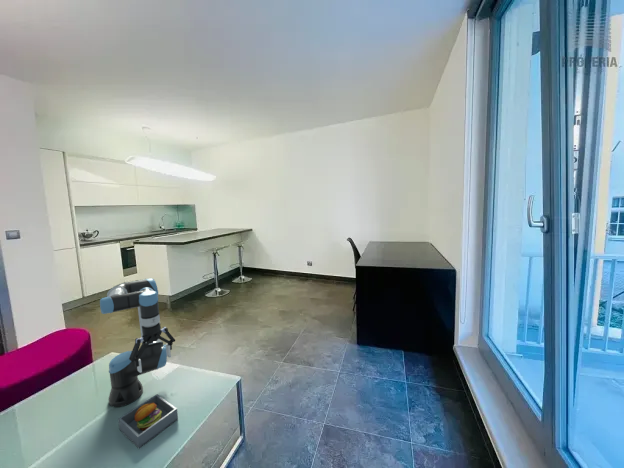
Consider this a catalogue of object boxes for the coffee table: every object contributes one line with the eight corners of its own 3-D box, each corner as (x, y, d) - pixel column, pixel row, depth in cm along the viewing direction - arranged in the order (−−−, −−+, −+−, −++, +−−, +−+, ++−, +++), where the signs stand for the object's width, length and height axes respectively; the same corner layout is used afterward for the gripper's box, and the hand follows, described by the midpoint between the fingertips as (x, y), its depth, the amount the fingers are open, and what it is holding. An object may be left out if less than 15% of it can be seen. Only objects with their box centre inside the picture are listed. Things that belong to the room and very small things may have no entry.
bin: (119, 430, 122) (118, 418, 121) (158, 404, 137) (156, 394, 136) (139, 449, 113) (137, 437, 112) (178, 419, 128) (177, 408, 127)
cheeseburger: (151, 434, 118) (144, 415, 117) (132, 435, 121) (126, 416, 120) (168, 416, 128) (161, 397, 127) (150, 416, 131) (144, 399, 130)
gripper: (124, 338, 113) (129, 382, 116) (180, 315, 133) (183, 353, 137) (117, 332, 117) (122, 375, 120) (172, 311, 137) (175, 348, 141)
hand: (154, 363), depth 129 cm, fingers open, 13 cm apart
